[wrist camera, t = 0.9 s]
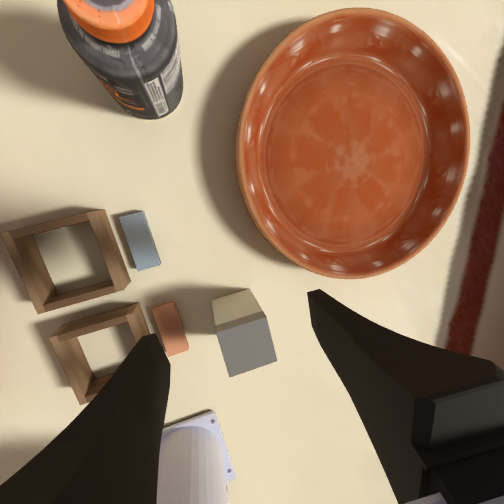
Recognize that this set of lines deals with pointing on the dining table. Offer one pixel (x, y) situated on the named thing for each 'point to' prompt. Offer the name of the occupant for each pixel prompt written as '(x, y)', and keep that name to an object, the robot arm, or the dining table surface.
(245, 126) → the saucer
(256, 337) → the plug
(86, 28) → the pill bottle
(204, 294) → the dining table surface
